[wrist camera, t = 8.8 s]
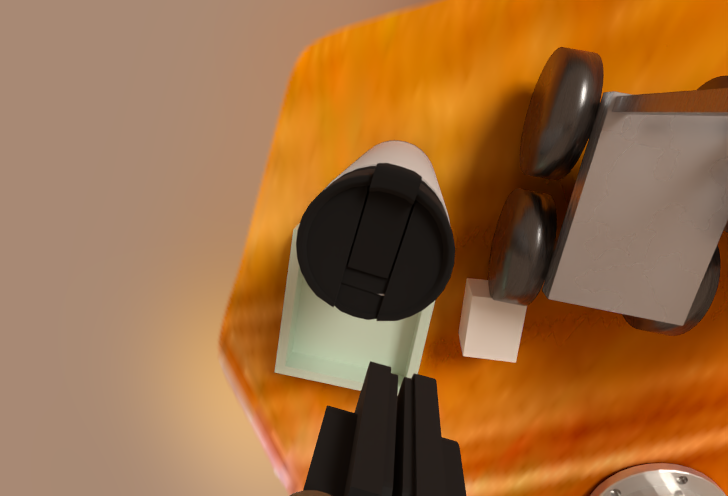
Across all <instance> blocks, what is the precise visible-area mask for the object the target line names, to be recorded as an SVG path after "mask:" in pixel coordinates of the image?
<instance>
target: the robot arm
mask: <svg viewBox="0 0 728 496" xmlns="http://www.w3.org/2000/svg"><path fill="white" fill-rule="evenodd" d="M397 394H398V396H397ZM290 496H466V490H465V483H464V476H463V469H462V462H461V455H460V448H459V444H458V443H457V442H456V441H453V440H449V439H446V438H442V437H441V428H440V417H439V406H438V395H437V384H436V379H433V378H429V377H426V376H422V375H418V374H415V373H414V374H413V376H412V378H407V377H404V378H403V381H402V384H401V387H400V390H399V393H398V375H396V374H393V373H391V367H389V366H386V365H382V364H379V363H375V362H371V361H370V363H369V366H368V369H367V372H366V376H365V379H364V383H363V386H362V390H361V393H360V396H359V400H358V403H357V407H356V410H355V413H352V412H348V411H345V410H341V409H338V408H334V407H330V406H327V408H326V411H325V415H324V418H323V422H322V425H321V429H320V433H319V436H318V440H317V443H316V447H315V450H314V454H313V457H312V461H311V465H310V468H309V472H308V475H307V479H306V482H305V486H304V490H303V491H300V492H296V493H293V494H292V495H290ZM590 496H726V495H725V493H724V492H723V491H722V489H721V488H720V487H719V486H718V485H717V484H716V483H715V482H714V481H713V480H711V479H710V478H709V477H707V476H706V475H704V474H703V473H701V472H698V471H696V470H694V469H692V468H689V467H685V466H681V465H677V464H667V463H654V464H644V465H639V466H634V467H631V468H628V469H625V470H623V471H620V472H618V473H616V474H615V475H613V476H611V477H609V478H608V479H606V480H605V481H604V482H603V483H601V484H600V485H599V486H598V487H597V488H596V489H595V490H594V491H593V493H592V494H591V495H590Z"/></svg>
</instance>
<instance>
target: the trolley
mask: <svg viewBox="0 0 728 496" xmlns="http://www.w3.org/2000/svg"><path fill="white" fill-rule="evenodd" d="M602 86H603V63H602V60H601V57H600V56H599V55H598V54H597V53H593V52H587V51H582V50H576V49H570V48H564V47H560V48H558V49H557V50H556V51H554V53H553V54H552V55H551V57H550V58H549V60H548V61H547V63H546V65H545V67H544V69H543V70H542V73H541V75H540V77H539V79H538V82H537V84H536V87H535V89H534V92H533V95H532V98H531V101H530V104H529V108H528V111H527V115H526V119H525V123H524V128H523V133H522V139H521V146H520V167H521V171H522V173H523V174H524V175H529V176H534V177H540V178H545V179H550V180H556V181H557V180H561V179H563V178H564V177H565V176H566V175H567V174H568V173H569V172H570V171H571V170H572V168H573V167H574V165H575V164H576V162H577V161H578V159H579V157H580V155H581V153H582V151H583V149H584V147H585V145H586V143H587V141H588V139H589V141H588V144H587V148H586V151H585V154H584V157H583V160H582V164H581V167H580V170H579V173H578V176H577V180H576V183H575V186H574V189H573V192H572V196H571V199H570V202H569V205H568V209H567V212H566V215H565V218H564V221H563V225H562V228H561V231H560V234H559V237H558V240H555V238H556V228H557V214H556V206H555V202H554V199H553V198H552V196H551V195H550V194H546V193H541V192H536V191H530V190H525V189H520V188H517V189H515V190H514V191H513V192H512V193H511V194H510V196H509V197H508V199H507V201H506V203H505V205H504V207H503V209H502V212H501V215H500V217H499V220H498V224H497V227H496V231H495V234H494V239H493V243H492V248H491V254H490V261H489V273H488V285H489V292H490V296H491V298H492V299H493V300H496V301H501V302H505V303H510V304H515V305H520V306H527V305H529V304H530V303H531V302H532V301H533V300H534V299H535V297H536V296H537V295H538V293H539V291H540V289H541V287H542V285H543V283H544V285H543V289H542V291H543V293H544V294H545V295H546V297H547V298H548V299H550V300H555V301H560V302H565V303H571V304H576V305H581V306H586V307H591V308H596V309H601V310H606V311H611V312H616V313H621V314H622V315H623V317H624V318H625V320H626V321H627V322H628V324H630V325H631V326H632V327H634V328H636V329H640V330H645V331H650V332H655V333H660V334H665V335H670V336H675V335H680V334H683V333H685V332H687V331H689V330H691V329H692V328H693V327H694V326H696V325H697V324H698V323H699V322H700V320H701V319H702V318H703V317H704V315H705V314H706V312H707V311H708V309H709V307H710V305H711V303H712V301H713V299H714V296H715V293H716V290H717V287H718V282H719V277H720V254H719V249H718V245H717V244H718V241H719V239H720V237H721V234H722V232H723V230H724V227H725V225H726V222H727V220H728V76H720V77H716V78H714V79H712V80H710V81H708V82H706V83H705V84H703V85H702V86H701V87H700V88H698V89H697V90H695V91H681V92H667V93H654V94H640V95H630V94H625V93H619V92H605V93H603V96H602V99H601V93H602ZM600 99H601V103H600ZM544 280H545V282H544Z"/></svg>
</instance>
